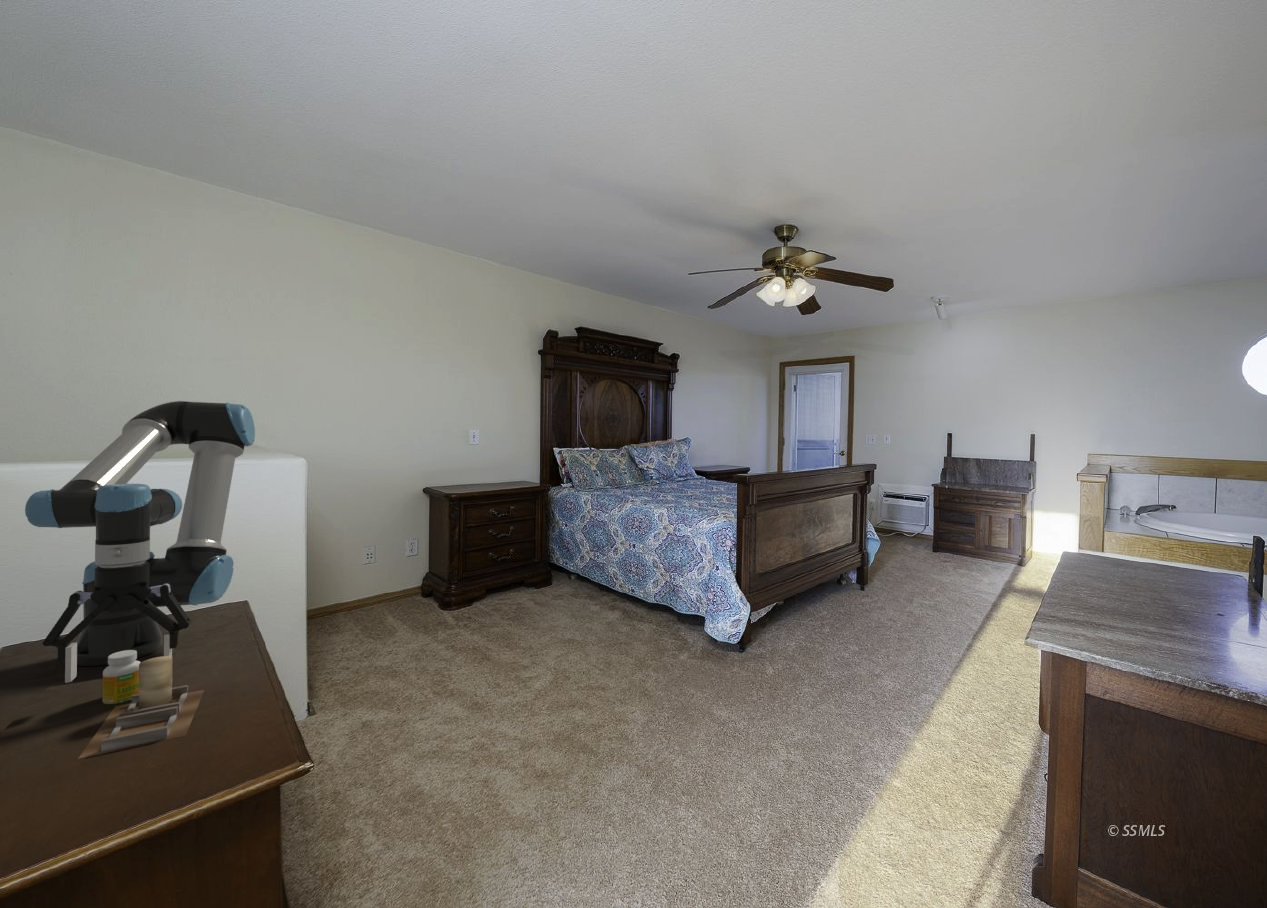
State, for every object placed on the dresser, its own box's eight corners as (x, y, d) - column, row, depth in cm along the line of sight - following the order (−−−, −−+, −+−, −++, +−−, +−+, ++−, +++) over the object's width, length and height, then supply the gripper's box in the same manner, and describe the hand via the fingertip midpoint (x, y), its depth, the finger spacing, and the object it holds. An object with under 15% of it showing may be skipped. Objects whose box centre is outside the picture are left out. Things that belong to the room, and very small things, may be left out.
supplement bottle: (116, 711, 96) (116, 661, 95) (94, 707, 97) (94, 658, 97) (148, 697, 101) (149, 650, 101) (127, 694, 102) (128, 646, 102)
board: (115, 712, 96) (115, 696, 95) (204, 695, 103) (204, 681, 102) (77, 766, 80) (77, 747, 80) (185, 742, 87) (185, 725, 87)
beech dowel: (142, 705, 96) (142, 659, 96) (174, 700, 98) (174, 654, 98) (135, 717, 92) (135, 669, 92) (168, 711, 94) (169, 663, 94)
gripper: (17, 575, 88) (15, 695, 88) (202, 561, 102) (200, 665, 102) (37, 565, 95) (35, 678, 95) (209, 554, 108) (207, 652, 108)
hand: (121, 672), depth 98 cm, fingers open, 13 cm apart
